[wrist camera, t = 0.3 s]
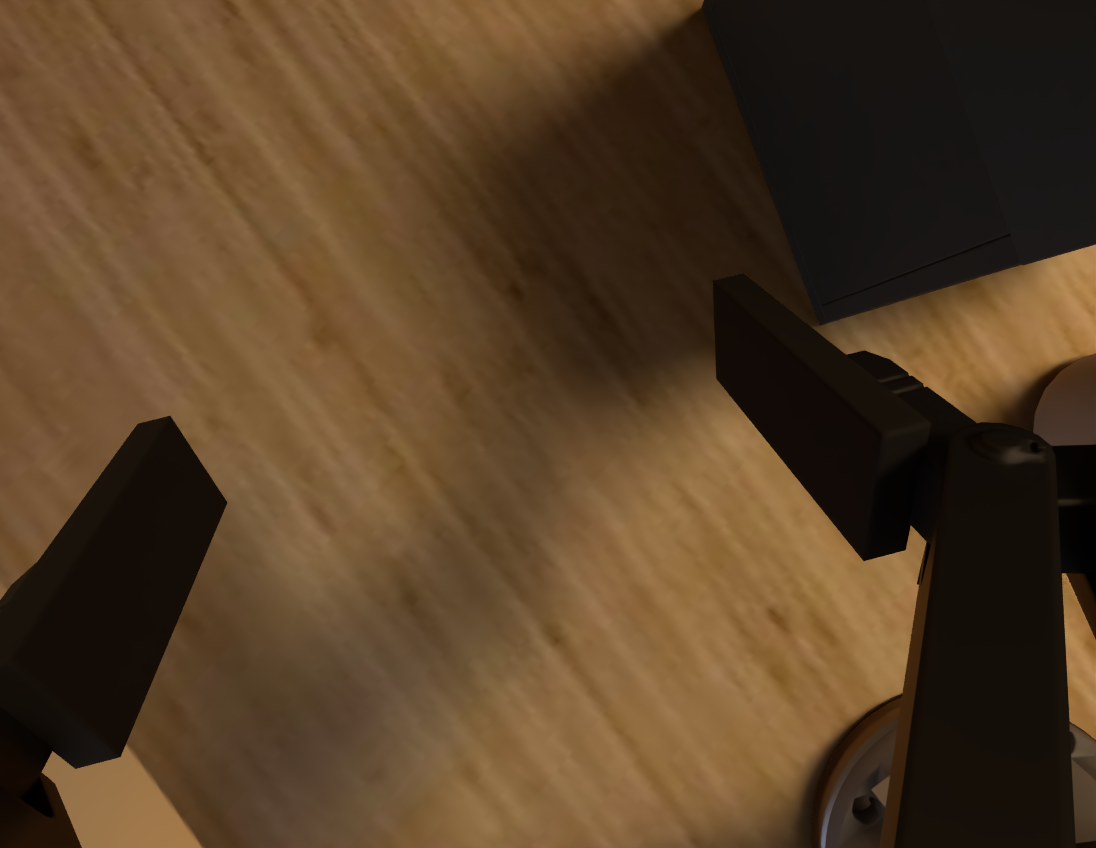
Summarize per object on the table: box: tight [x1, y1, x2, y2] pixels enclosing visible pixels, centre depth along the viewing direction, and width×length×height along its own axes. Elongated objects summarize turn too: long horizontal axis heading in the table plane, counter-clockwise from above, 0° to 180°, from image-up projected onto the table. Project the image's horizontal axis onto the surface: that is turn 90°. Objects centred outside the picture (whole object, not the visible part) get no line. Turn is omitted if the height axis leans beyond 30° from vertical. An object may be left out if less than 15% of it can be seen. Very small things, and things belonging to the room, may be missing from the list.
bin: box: [702, 0, 1021, 325], centre depth 23 cm, size 14×17×14 cm
